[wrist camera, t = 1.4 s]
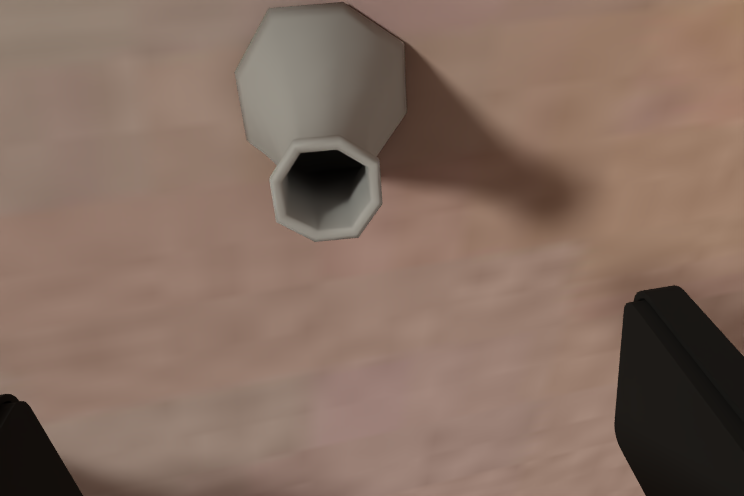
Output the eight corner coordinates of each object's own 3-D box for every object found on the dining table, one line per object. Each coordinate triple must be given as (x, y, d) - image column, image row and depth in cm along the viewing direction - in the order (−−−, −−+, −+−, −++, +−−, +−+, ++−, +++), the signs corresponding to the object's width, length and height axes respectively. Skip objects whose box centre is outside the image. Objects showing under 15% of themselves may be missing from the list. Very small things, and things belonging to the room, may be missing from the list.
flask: (431, 24, 25) (492, 97, 16) (383, 185, 28) (414, 317, 19) (249, -24, 23) (210, 28, 15) (222, 152, 27) (179, 278, 18)
